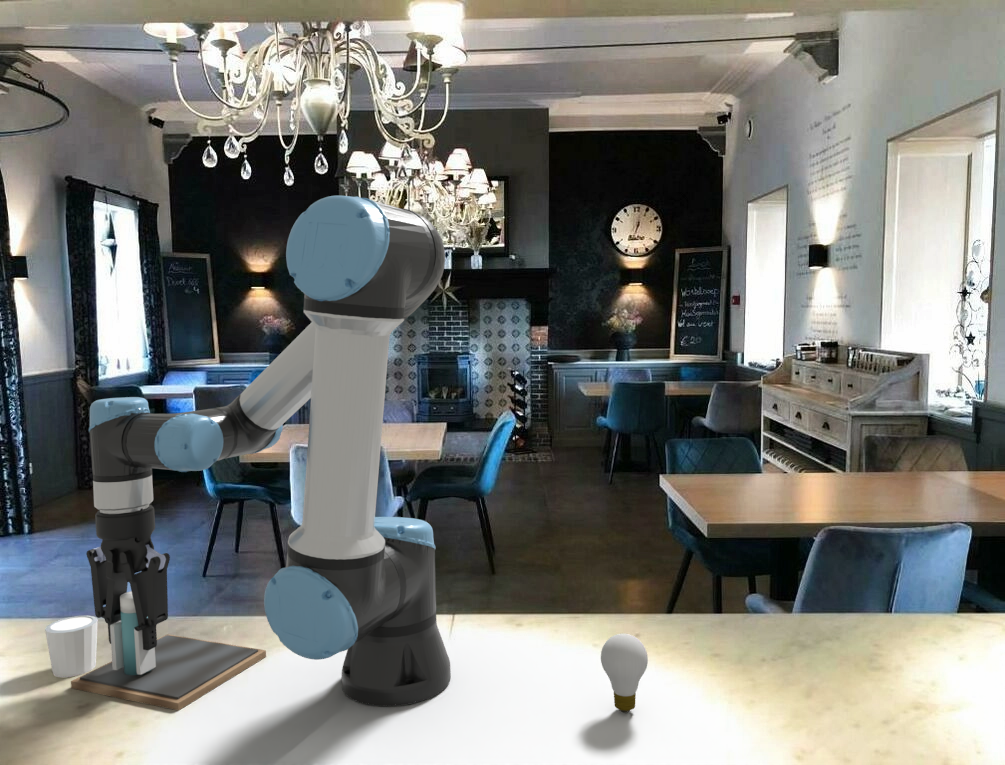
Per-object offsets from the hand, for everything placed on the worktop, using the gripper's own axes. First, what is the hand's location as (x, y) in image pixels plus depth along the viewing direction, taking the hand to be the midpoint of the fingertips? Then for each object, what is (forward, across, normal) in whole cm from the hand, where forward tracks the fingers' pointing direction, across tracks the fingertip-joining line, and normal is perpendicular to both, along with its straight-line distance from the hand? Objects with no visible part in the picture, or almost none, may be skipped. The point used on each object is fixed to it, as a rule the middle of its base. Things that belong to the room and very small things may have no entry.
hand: (134, 667), depth 111 cm
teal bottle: (+1, 0, -1) cm, 1 cm away
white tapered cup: (+2, +12, 0) cm, 12 cm away
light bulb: (+2, -68, -14) cm, 69 cm away
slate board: (+2, -3, -4) cm, 5 cm away
